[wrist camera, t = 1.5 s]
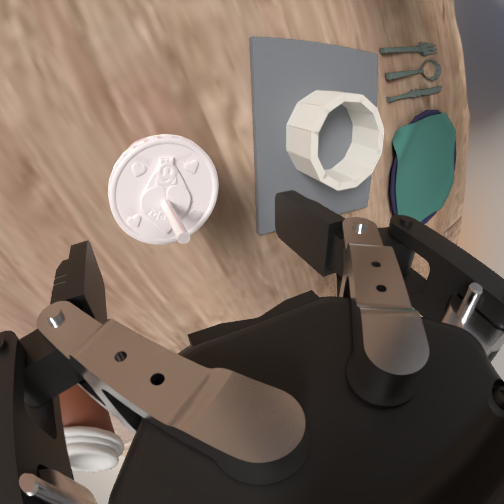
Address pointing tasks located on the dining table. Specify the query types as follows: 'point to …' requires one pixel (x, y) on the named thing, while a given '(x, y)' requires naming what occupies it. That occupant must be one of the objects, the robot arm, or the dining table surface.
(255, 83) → the sleeve stand
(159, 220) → the smoothie
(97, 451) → the coffee cup
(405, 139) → the cutlery set
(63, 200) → the dining table surface
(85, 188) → the dining table surface
